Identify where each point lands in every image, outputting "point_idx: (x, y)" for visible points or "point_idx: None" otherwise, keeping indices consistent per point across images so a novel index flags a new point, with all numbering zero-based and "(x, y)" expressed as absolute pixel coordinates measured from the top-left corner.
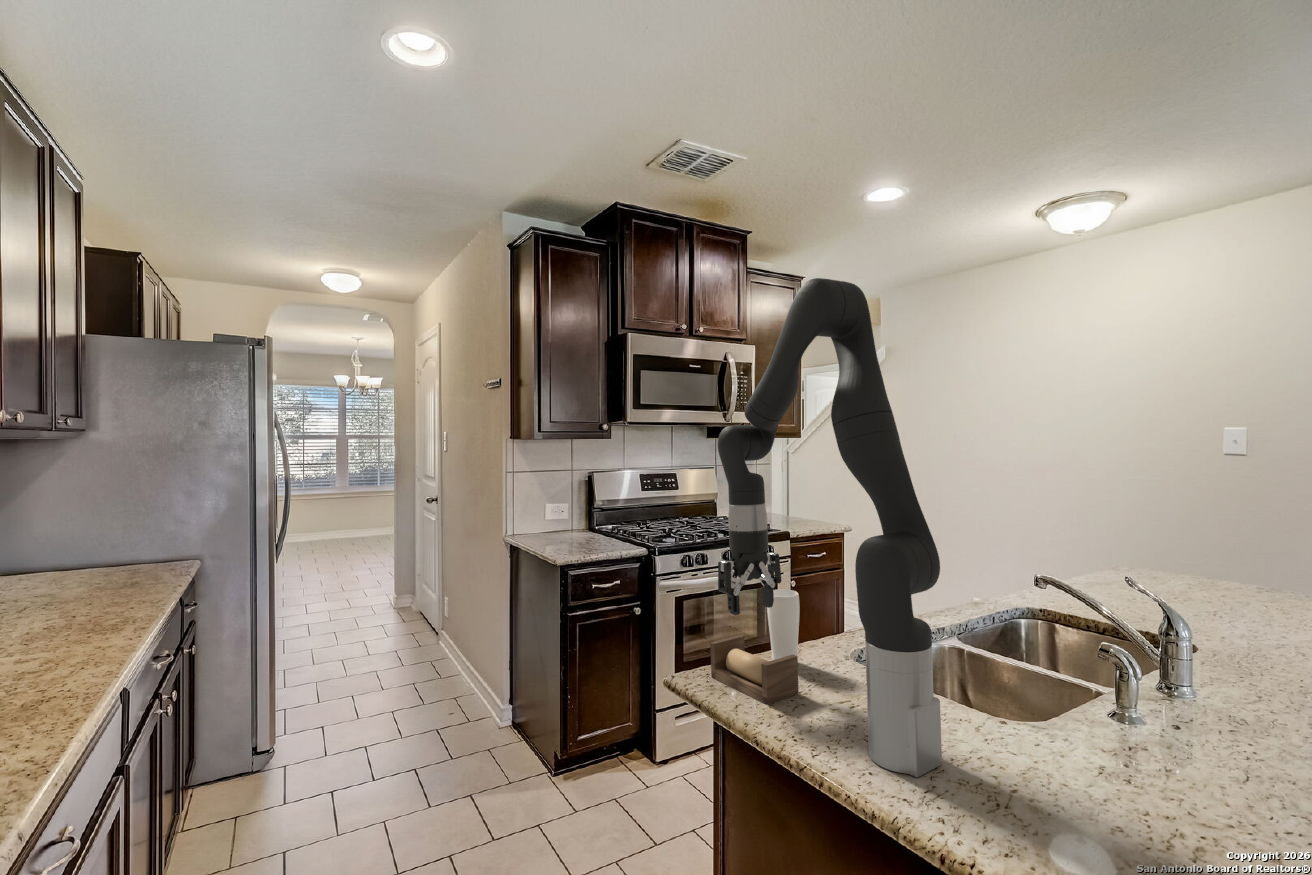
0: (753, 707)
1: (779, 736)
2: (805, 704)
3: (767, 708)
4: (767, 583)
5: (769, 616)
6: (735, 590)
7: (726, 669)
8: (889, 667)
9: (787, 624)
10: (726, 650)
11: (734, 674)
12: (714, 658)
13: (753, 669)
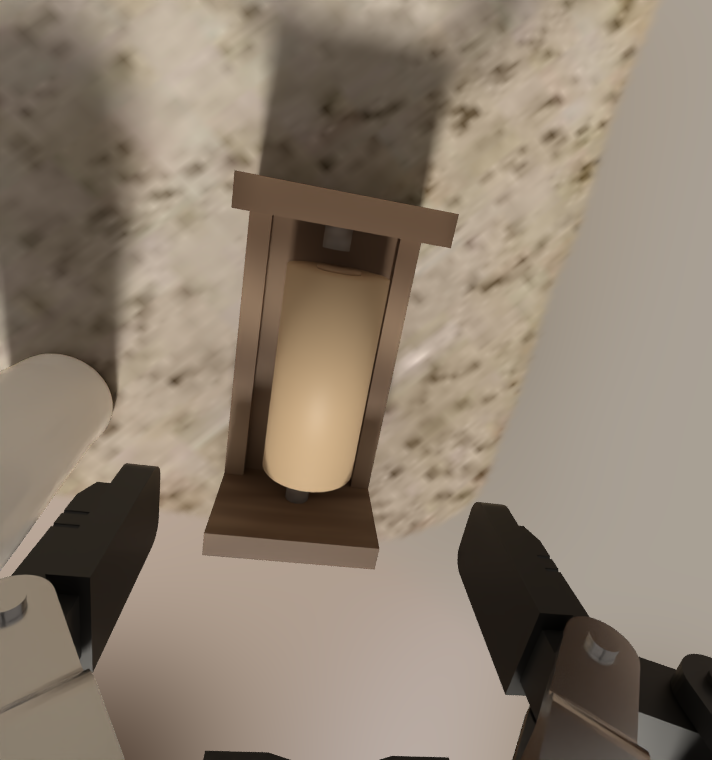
0: (465, 235)
1: (605, 14)
2: (321, 99)
3: (442, 192)
4: (72, 652)
5: (15, 544)
6: (625, 666)
7: None
8: None
9: None
10: (312, 516)
11: None
12: (371, 511)
13: (379, 328)
